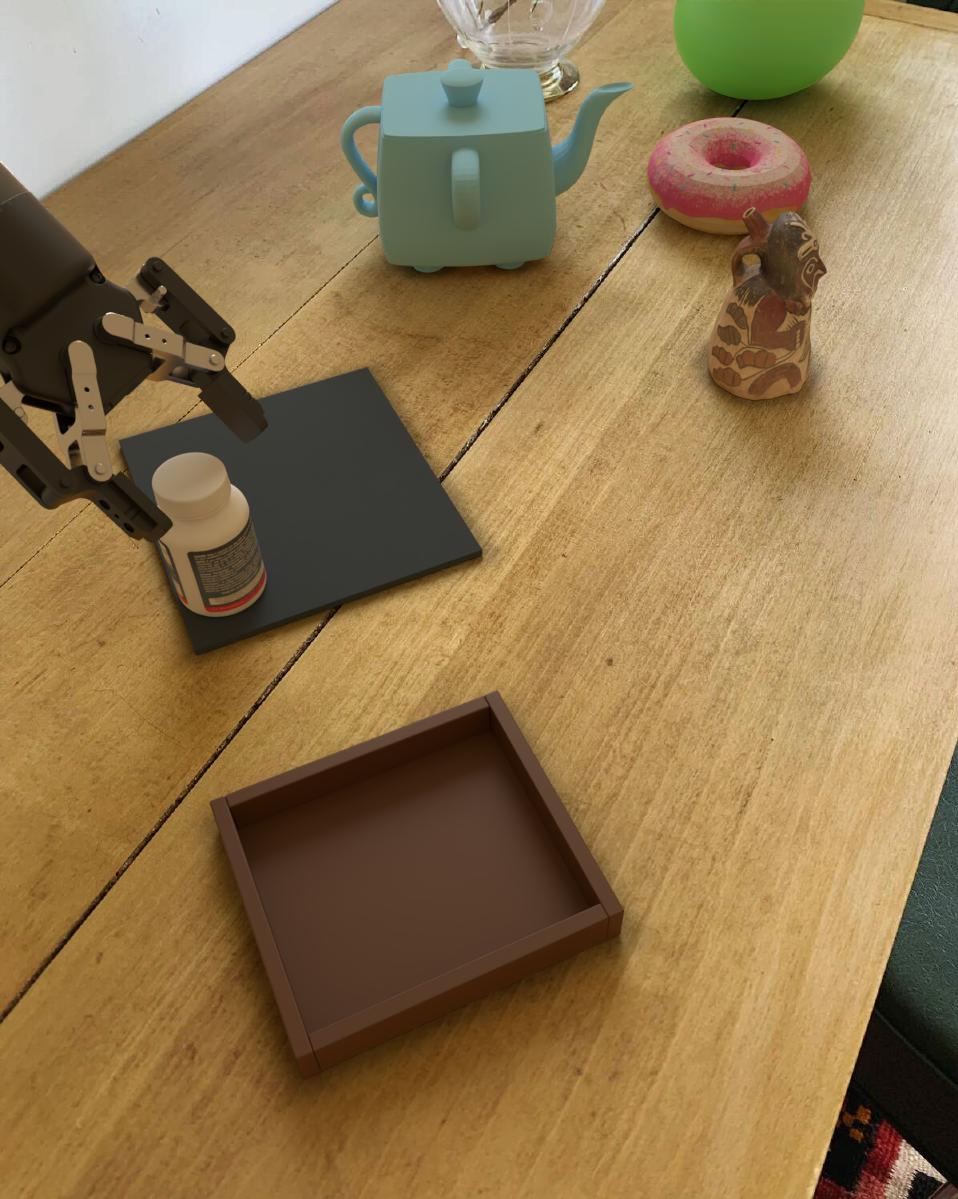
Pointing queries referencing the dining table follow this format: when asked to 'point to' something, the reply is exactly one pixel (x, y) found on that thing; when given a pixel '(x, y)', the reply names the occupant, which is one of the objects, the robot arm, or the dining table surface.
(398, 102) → the teapot
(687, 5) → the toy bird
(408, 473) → the mat
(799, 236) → the figurine
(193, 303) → the robot arm
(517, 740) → the tray
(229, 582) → the pill bottle
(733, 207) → the donut
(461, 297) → the dining table surface
